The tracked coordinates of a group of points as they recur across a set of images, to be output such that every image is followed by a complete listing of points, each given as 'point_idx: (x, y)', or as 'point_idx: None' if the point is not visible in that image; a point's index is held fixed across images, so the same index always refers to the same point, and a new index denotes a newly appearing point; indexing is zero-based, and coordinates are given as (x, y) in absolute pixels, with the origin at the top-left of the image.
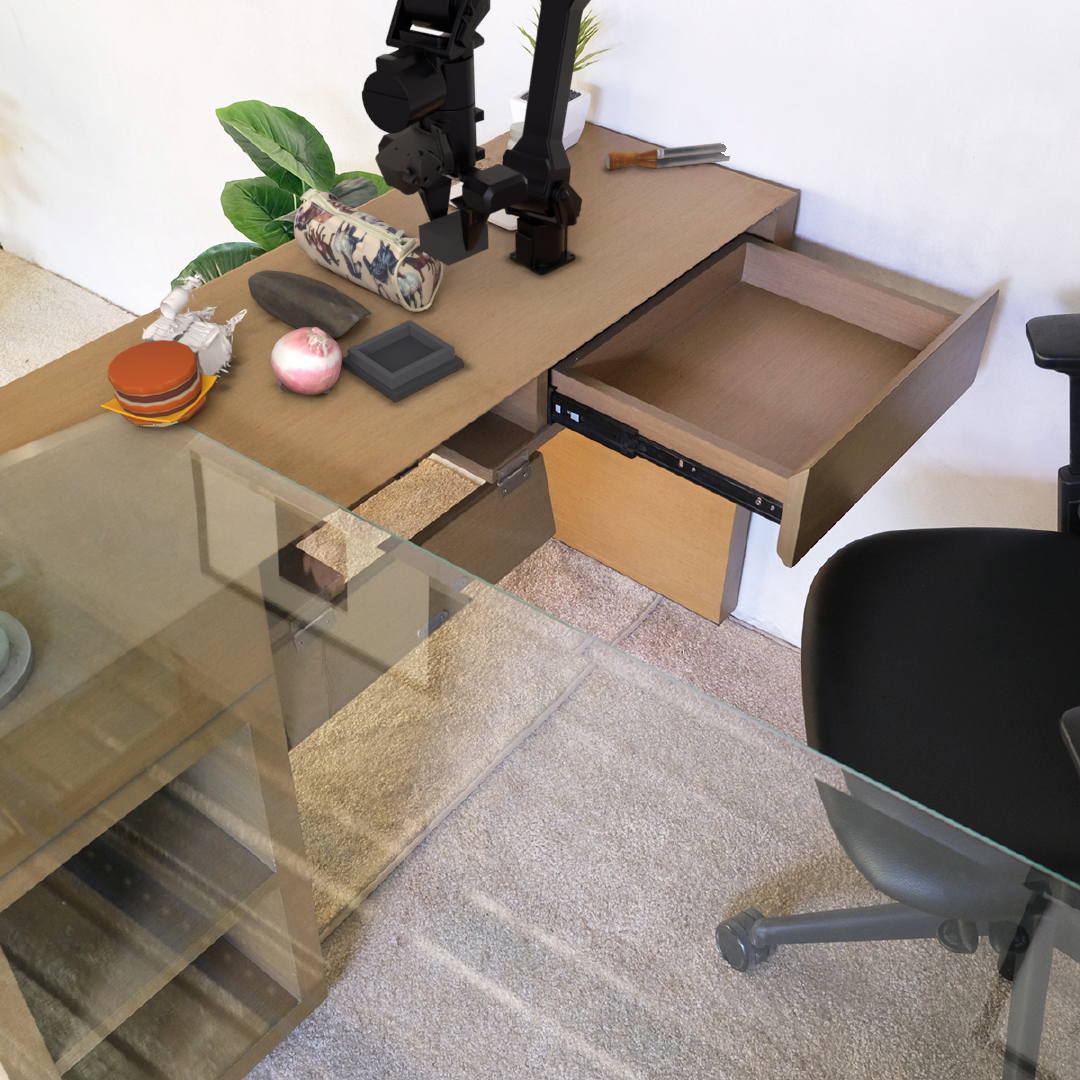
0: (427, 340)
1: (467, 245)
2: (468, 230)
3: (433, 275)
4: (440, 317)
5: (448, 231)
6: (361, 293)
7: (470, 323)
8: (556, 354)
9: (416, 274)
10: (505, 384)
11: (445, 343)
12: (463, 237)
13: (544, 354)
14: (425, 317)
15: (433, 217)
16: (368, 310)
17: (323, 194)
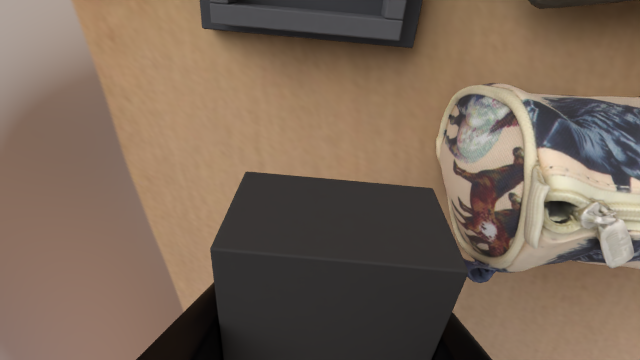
0: (305, 10)
1: (211, 286)
2: (140, 356)
3: (450, 200)
4: (394, 137)
5: (290, 310)
6: (625, 93)
7: (329, 159)
8: (137, 181)
9: (472, 163)
10: (100, 41)
11: (239, 19)
12: (215, 311)
13: (150, 169)
14: (422, 117)
15: (444, 352)
16: (543, 2)
17: None
